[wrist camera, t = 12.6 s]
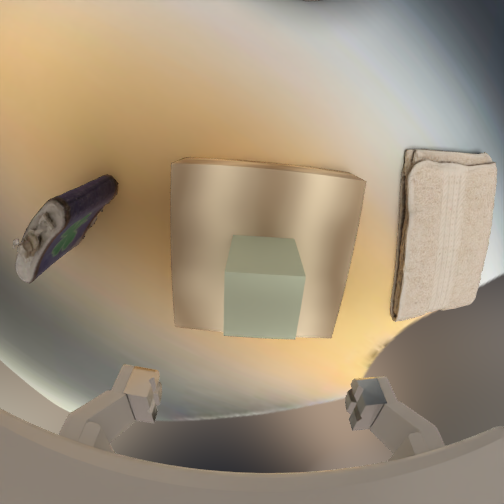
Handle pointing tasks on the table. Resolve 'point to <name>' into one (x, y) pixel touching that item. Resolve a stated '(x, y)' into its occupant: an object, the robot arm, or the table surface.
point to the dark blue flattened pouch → (61, 226)
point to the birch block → (260, 233)
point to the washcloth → (441, 230)
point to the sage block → (263, 288)
